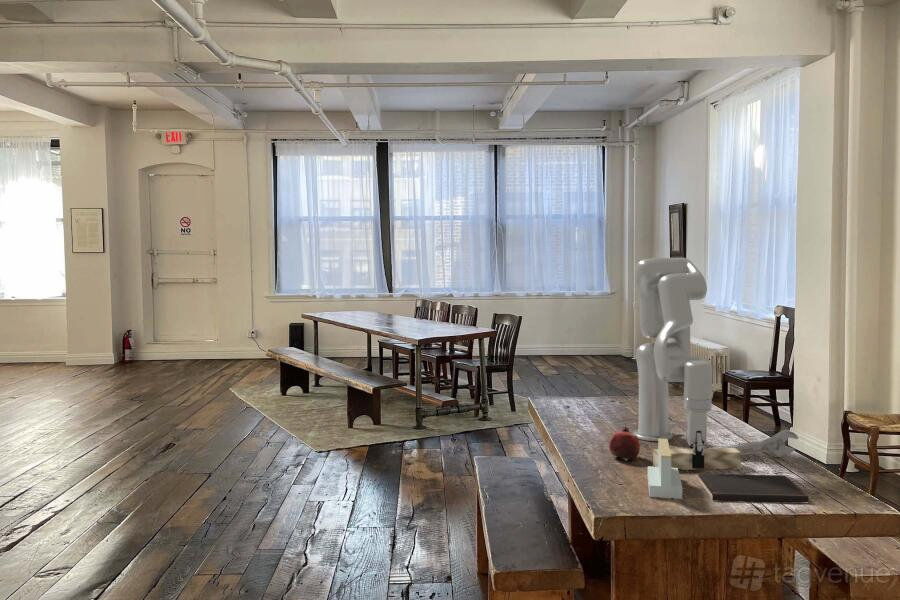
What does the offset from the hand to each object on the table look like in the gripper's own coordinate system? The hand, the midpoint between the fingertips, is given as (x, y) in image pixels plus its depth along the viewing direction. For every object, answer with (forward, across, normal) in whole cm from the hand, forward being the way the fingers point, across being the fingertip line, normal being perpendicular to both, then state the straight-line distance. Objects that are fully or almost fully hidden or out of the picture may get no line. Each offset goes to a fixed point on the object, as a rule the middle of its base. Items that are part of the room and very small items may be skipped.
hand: (696, 463), depth 202 cm
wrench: (+1, -12, +16) cm, 20 cm away
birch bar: (+1, 0, 0) cm, 1 cm away
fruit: (+1, -4, -20) cm, 21 cm away
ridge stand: (+1, +20, -10) cm, 22 cm away
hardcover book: (+2, +18, +12) cm, 21 cm away
